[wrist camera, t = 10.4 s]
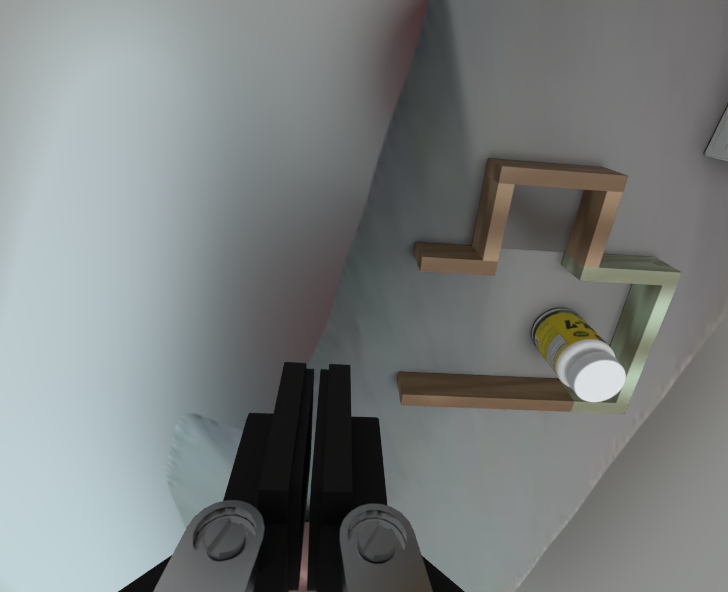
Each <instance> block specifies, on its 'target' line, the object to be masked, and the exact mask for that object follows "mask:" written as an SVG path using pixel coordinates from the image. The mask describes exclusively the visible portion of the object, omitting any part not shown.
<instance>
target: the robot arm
mask: <svg viewBox="0 0 728 592" xmlns="http://www.w3.org/2000/svg"><path fill="white" fill-rule="evenodd" d="M313 386H314V369H306V363H293V362H285V363H284V367H283V372H282V376H281V382H280V386H279V391H278V396H277V401H276V405H275V410H274V414H267V413H266V414H265V413H249V415H248V417H247V420H246V423H245V427H244V430H243V434H242V437H241V441H240V444H239V448H238V451H237V455H236V458H235V462H234V465H233V469H232V472H231V476H230V479H229V483H228V486H227V490H226V493H225V497H224V500H223V501H222V502H218V503H214V504H212V505H210V506H208V507H206V508H204V509H203V510H202V511H201V512H199V513H198V514H197V515H196V516H195V517H194V518H193V519H192V521H191V522H190V524H189V525H188V526H187V528H186V530H185V532H184V534H183V536H182V538H181V540H180V542H179V544H178V546H177V547H176V549H175V551H174V553H173V555H171V556H170V557H169V558H167V559H166V560H164V561H163V562H161V563H160V564H158V565H157V566H155V567H154V568H152V569H151V570H149V571H148V572H146V573H145V574H143V575H142V576H141V577H139V578H138V579H136V580H135V581H133V582H132V583H130V584H129V585H127V586H126V587H124V588H123V589H121V590H120V591H118V592H289V591H299V582H300V571H301V560H302V548H303V537H304V526H305V515H306V504H307V493H308V482H309V471H310V459H311V439H312V413H313ZM307 591H317V592H464V591H463V590H462V589H461V588H460V587H458V586H457V585H456V584H455V583H454V582H452V581H451V580H450V579H449V578H448V577H447V576H445V575H444V574H443V573H442V572H441V571H439V570H438V569H437V568H436V567H435V566H433V565H432V564H431V563H430V562H429V561H428V560H426V559H425V558H424V557H423V556H422V555H421V552H420V549H419V546H418V543H417V540H416V536H415V533H414V530H413V528H412V526H411V524H410V522H409V521H408V520H407V519H406V518H405V516H404V515H403V514H402V513H400V512H399V511H397V510H396V509H394V508H392V507H390V506H387V497H386V487H385V477H384V467H383V456H382V446H381V436H380V426H379V419H378V418H376V417H351V379H350V365H340V364H329V370H325V369H321V372H320V384H319V396H318V408H317V420H316V432H315V444H314V456H313V468H312V480H311V496H310V520H309V545H308V571H307Z"/></svg>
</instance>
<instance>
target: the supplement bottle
mask: <svg viewBox="0 0 728 592" xmlns="http://www.w3.org/2000/svg"><path fill="white" fill-rule="evenodd" d="M532 340H533V342H534V344H535V346H536V347H537V349H538V350H539V352H540V353H541V354H542V356H543V357H544V358H545V360H546V361H547V363H548V364H549V365H550V367H551V368H552V370H553V371H554V372H555V374H556V375H557V377H558V378H559V379H560V381H561V382H562V383H564V384H565V385H566V386H568V387H571V388H572V389H573V391H574V392H575V393H576V394H577V396H578V397H580V398H581V399H583V400H585V401H588V402H601V401H604V400H607V399H609V398H611V397H613V396H614V395H616V394H617V393H618V392H619V391H620V390H621V388H622V387H623V385H624V383H625V379H626V374H625V370H624V368H623V367H622V365H621V364H620V363H619V362H618V360H617V359H616V358H615V354H614V352H613V350H612V349H611V347H610V346H609V345H608V344H607V343H606V342H605V341H604V340H603V339H602V338H601V337H600V336H599V335H598V334H597V333H596V332H595V331H594V330H593V329H592V328H591V327H590V326H589V325H588V324H587V323H586V322H585V321H584V320H583V319H582V318H581V317H580V316H579V315H578V314H577V313H575V312H574V311H571V310H568V309H554V310H550V311H548V312H546V313H545V314H543V315H542V316H541V317H539V319H538V320H537V321H536V323H535V324H534V327H533V330H532Z"/></svg>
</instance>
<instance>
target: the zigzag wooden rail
mask: <svg viewBox="0 0 728 592" xmlns="http://www.w3.org/2000/svg"><path fill="white" fill-rule="evenodd" d="M627 178H628V176H627V175H624V174H621V173H619V172H616V171H613V170H610V169H607V168H604V167H594V166H581V165H568V164H555V163H542V162H529V161H516V160H503V159H490V158H488V162H487V168H486V173H485V178H484V183H483V189H482V194H481V199H480V204H479V210H478V215H477V220H476V226H475V231H474V236H473V241H472V246H471V245H455V244H439V243H423V242H416V245H415V252H414V256H415V259H416V262H417V264H418V267H419V269H420V271H426V272H443V273H460V274H477V275H494V276H495V272H496V268H497V263H498V259H499V254H500V250H501V248H506V249H522V250H538V251H554V252H565V253H564V257H563V260H562V264H561V265H563V266H564V267H565V268H566V269H567V270H568V271H569V272H571V273H572V274H573V275H574V276H575V277H576V278H577V279H579V280H580V281H596V282H613V283H630V284H632V287H631V289H630V292H629V295H628V298H627V300H626V303H625V306H624V309H623V311H622V314H621V317H620V320H619V322H618V325H617V328H616V331H615V333H614V336H613V339H612V342H611V345H610V347H611V349H612V350H613V352H614V354H615V358H616V359H617V360H618V362H619V363H620V364H621V365H622V367H623V368H624V370H625V374H626V379H625V383H624V385H623V387H622V388H621V390H620V391H619V392H618V393H617V394H616V395H614V396H613V397H611V398H609V399H607V400H604V401H601V402H588V401H585V400H583V399H581V398H580V397H578V396H577V394H576V393H575V392H574V391H573V389H572V388H571V387H568V386H566V385H565V384H564V383H562V382H561V381H560V379H552V378H529V377H506V376H483V375H461V374H438V373H415V372H398V379H397V384H398V390H399V396H400V402H401V405H410V406H436V407H462V408H487V409H513V410H539V411H565V412H590V413H616V414H625V411H626V409H627V406H628V404H629V401H630V399H631V396H632V394H633V392H634V389H635V387H636V384H637V382H638V379H639V377H640V375H641V372H642V370H643V367H644V365H645V362H646V360H647V357H648V355H649V353H650V350H651V348H652V345H653V343H654V340H655V338H656V335H657V333H658V331H659V328H660V326H661V323H662V321H663V318H664V316H665V314H666V311H667V309H668V306H669V304H670V301H671V299H672V296H673V294H674V292H675V289H676V287H677V284H678V282H679V279H680V277H681V274H682V272H680V271H678V270H677V269H675V268H673V267H672V266H670V265H668V264H666V263H665V262H663V261H661V260H660V259H658V258H656V257H644V256H628V255H613V254H603V253H604V249H605V246H606V243H607V240H608V237H609V234H610V231H611V228H612V225H613V222H614V218H615V215H616V212H617V209H618V206H619V203H620V200H621V197H622V194H623V191H624V188H625V184H626V181H627Z"/></svg>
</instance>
